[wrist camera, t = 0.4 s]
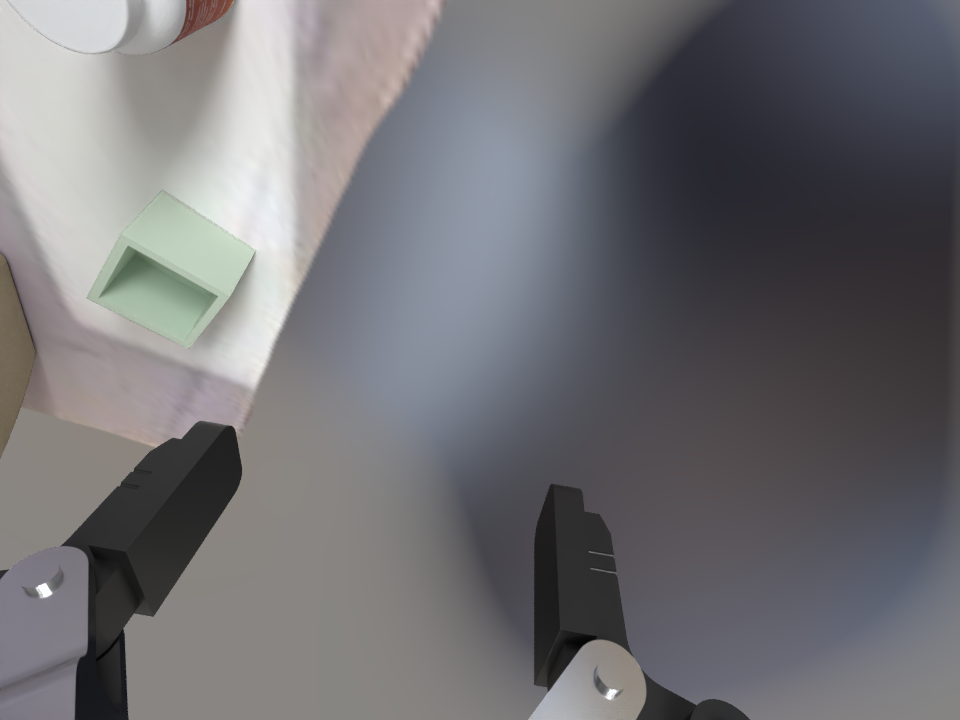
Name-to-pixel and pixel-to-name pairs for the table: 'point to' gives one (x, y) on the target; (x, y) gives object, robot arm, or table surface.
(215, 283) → the pale green bin
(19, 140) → the table surface
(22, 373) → the flower pot
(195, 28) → the pill bottle
